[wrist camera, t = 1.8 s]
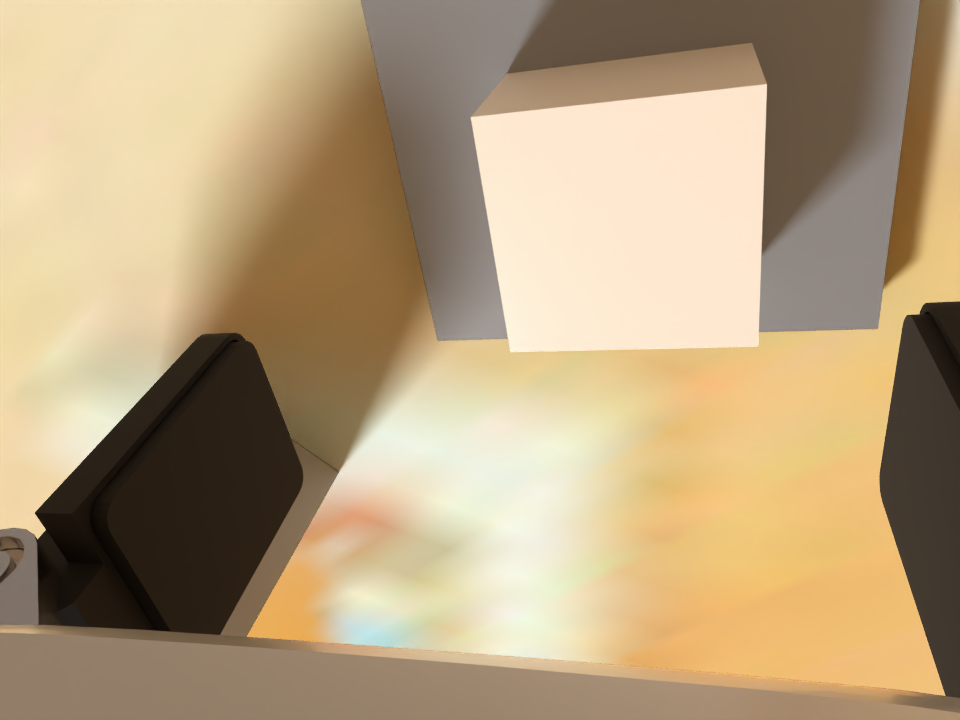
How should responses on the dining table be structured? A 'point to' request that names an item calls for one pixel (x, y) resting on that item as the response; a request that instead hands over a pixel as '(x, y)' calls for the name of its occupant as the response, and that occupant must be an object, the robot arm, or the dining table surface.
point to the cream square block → (628, 201)
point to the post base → (644, 32)
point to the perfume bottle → (282, 542)
